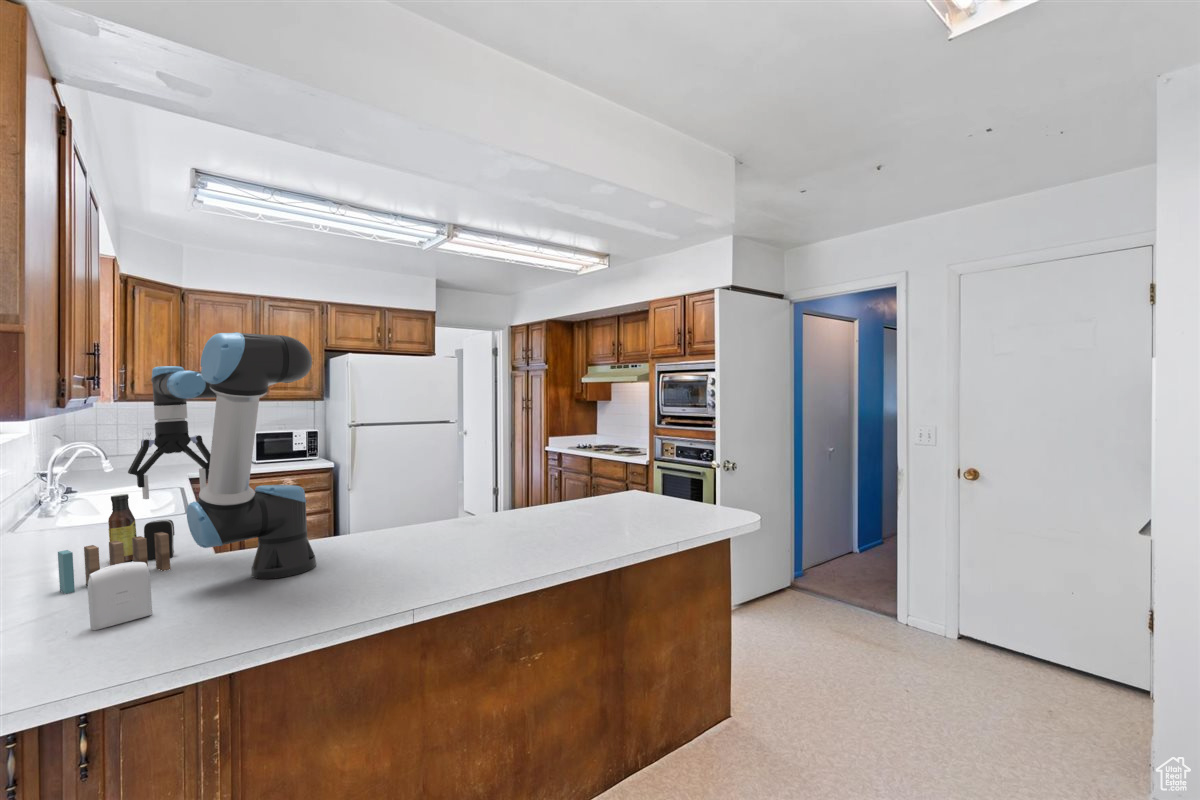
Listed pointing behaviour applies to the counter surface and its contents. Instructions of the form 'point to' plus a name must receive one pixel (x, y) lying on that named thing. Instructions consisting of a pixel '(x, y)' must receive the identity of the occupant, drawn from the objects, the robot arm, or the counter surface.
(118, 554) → the domino
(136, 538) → the domino
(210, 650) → the counter surface
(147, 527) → the battery charger
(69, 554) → the domino
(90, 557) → the domino
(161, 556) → the domino
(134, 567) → the photo printer
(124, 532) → the sauce bottle
